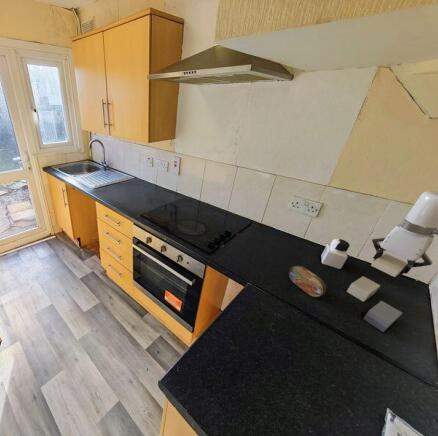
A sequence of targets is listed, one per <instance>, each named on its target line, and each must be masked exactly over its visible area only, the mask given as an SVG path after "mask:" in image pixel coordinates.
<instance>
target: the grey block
mask: <svg viewBox="0 0 438 436" xmlns="http://www.w3.org/2000/svg"><path fill="white" fill-rule="evenodd" d="M402 314H403V312H402V311H401V310H399V309H397V308H395V307H393V306H391V305H390V304H389V303H386V302H384V301H383V300H380V301H379V302H378V303H377V304H375V305H374V306H373V307H371V308H370V309H369V310H368V311H367V313H365V315H364V316H363V317H362V319H363V320H364V321H366V322H367V323H368V324H369V325H372V326H373V327H374V328H376V329H378V330H379V331H381V332H382V333H385V332H386V331H387V330H388V328H390V327H391V326H392V325H393V324H394V323H395V322H396V321H397V320H398V319H399V318H400V317H401V316H402Z"/></svg>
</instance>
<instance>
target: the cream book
mask: <svg viewBox="0 0 438 436" xmlns="http://www.w3.org/2000/svg"><path fill="white" fill-rule="evenodd" d="M373 261H374V262H373ZM373 261H372V263H371V264H370V266H371V267H373V268H375V269H377V270H379V271H381V272H383V273H385V274H387V275H389V276H391V277H393V278H396V277H397V276H399V275H400V274H399V273H400V272H401V271H402V269H403V268H404V267H405V266H406V265H407V264H408V262H406V261H404V260H402V259H400V258H397V257H395V256H393V255H391V254H388V253H386V252H385V253H383V255H382V256H381V257H379V258H378V259H376V260H374V259H373Z"/></svg>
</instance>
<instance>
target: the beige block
mask: <svg viewBox="0 0 438 436" xmlns="http://www.w3.org/2000/svg"><path fill="white" fill-rule="evenodd" d="M380 287H381V284H378V283H377V282H375V281H373V280H371V279H369V278H367V277H366V276H361V277H360V278H358V279H356V280H355V281H354V282H351V284H350V285H349V287H348V288H347V290H346V293H348V294H350V295H351V296H353V297H355V298H356V299H358V300H360V301H361V302H363V303H364V302H365V301H368V299H370V298H371V297H372V296H374V295H375V294H376V293H377V291H378V290H379V289H380Z"/></svg>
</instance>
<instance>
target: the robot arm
mask: <svg viewBox="0 0 438 436" xmlns="http://www.w3.org/2000/svg"><path fill="white" fill-rule="evenodd" d="M435 235H437V236H438V191H437V190H436V191H435V190H427V191H426V190H425V191H424V192H422V193H421V194H420V196H419V197H418V198H417V200H416V202H415V203H414V204H413V206H412V207H411V209H410V210H409V212H408V213H407V214H406V215H405V218H404V219H403V220H402V222H401V223H398V224H397V225H396V226H395V227H394V228H393V229H391V231H390V232H389V233H388V234H387V236H386V237H385V236H384V237H375V238H372V239H371V242H372V244H373V248H374V249H375V254H374V255H373V257H372V259H373V261H372V263H373V262H374V260H376V259H378V258H379V257H381V256H382V255H384V252H385V251H388V252H389V253H392V254H394V255H397V256H399V257H401V258H404V259H406V261H407V262H406V263H408V264H407V265H406V266H405V267H404V268H403V269H402V271H401V272H400V273H399V274H398V275H400V276H403V275H404V274H406V275H407V274H409V272H410V271H411V269H412V268H421V267H428V266H431V265H433V261H432V260H431V258H430V257H429V256H428V254H427V253H426V252H428V251H427V250H428V249H429V248H430V246H431V245H432V244H433V241H434V238H435ZM379 243H381V244H379ZM419 259H422V261H418V260H419Z"/></svg>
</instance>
